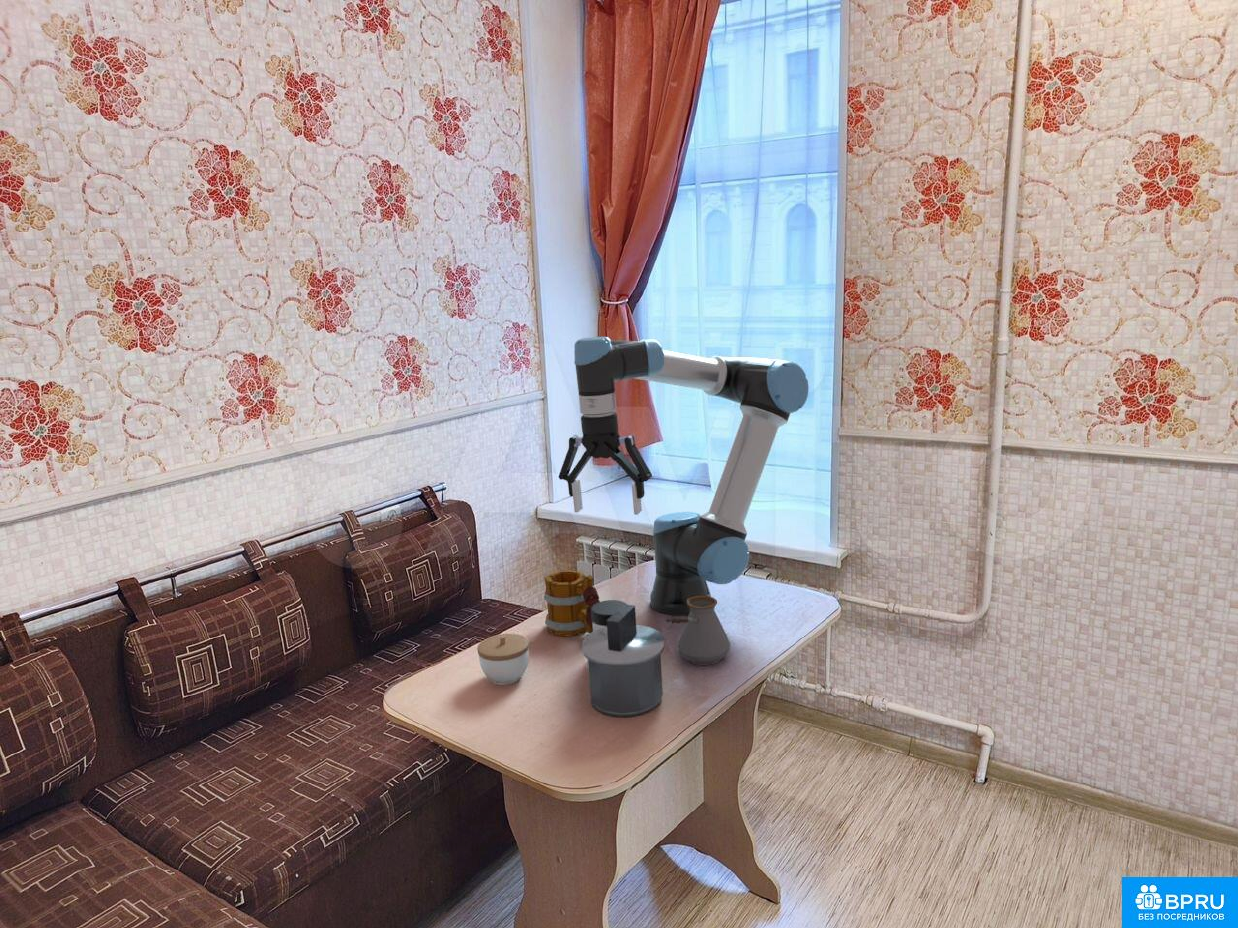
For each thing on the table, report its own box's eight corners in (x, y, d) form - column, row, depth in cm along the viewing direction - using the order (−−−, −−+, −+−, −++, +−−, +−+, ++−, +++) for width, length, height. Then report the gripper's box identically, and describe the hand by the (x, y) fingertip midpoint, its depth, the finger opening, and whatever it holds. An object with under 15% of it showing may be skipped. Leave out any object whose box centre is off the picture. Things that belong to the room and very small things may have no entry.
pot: (621, 666, 177) (618, 619, 174) (676, 699, 162) (673, 648, 159) (565, 688, 169) (561, 639, 166) (618, 725, 154) (614, 671, 152)
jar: (605, 671, 175) (602, 618, 172) (586, 657, 182) (582, 607, 179) (640, 658, 180) (637, 607, 177) (619, 645, 187) (616, 596, 184)
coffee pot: (692, 641, 187) (690, 578, 183) (739, 651, 181) (737, 586, 177) (644, 683, 169) (640, 615, 166) (694, 695, 163) (691, 625, 160)
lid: (603, 630, 172) (601, 593, 170) (676, 639, 165) (674, 601, 163) (568, 664, 158) (565, 624, 156) (646, 676, 151) (643, 635, 149)
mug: (569, 613, 206) (564, 556, 202) (617, 630, 195) (613, 570, 191) (536, 628, 198) (531, 570, 195) (583, 647, 187) (579, 585, 184)
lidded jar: (540, 668, 178) (536, 628, 176) (518, 693, 168) (514, 650, 166) (495, 663, 182) (491, 624, 180) (471, 687, 172) (467, 646, 170)
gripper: (536, 417, 172) (547, 515, 177) (649, 416, 162) (658, 519, 168) (552, 410, 178) (562, 504, 184) (661, 409, 169) (669, 507, 174)
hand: (607, 511), depth 176 cm, fingers open, 13 cm apart
